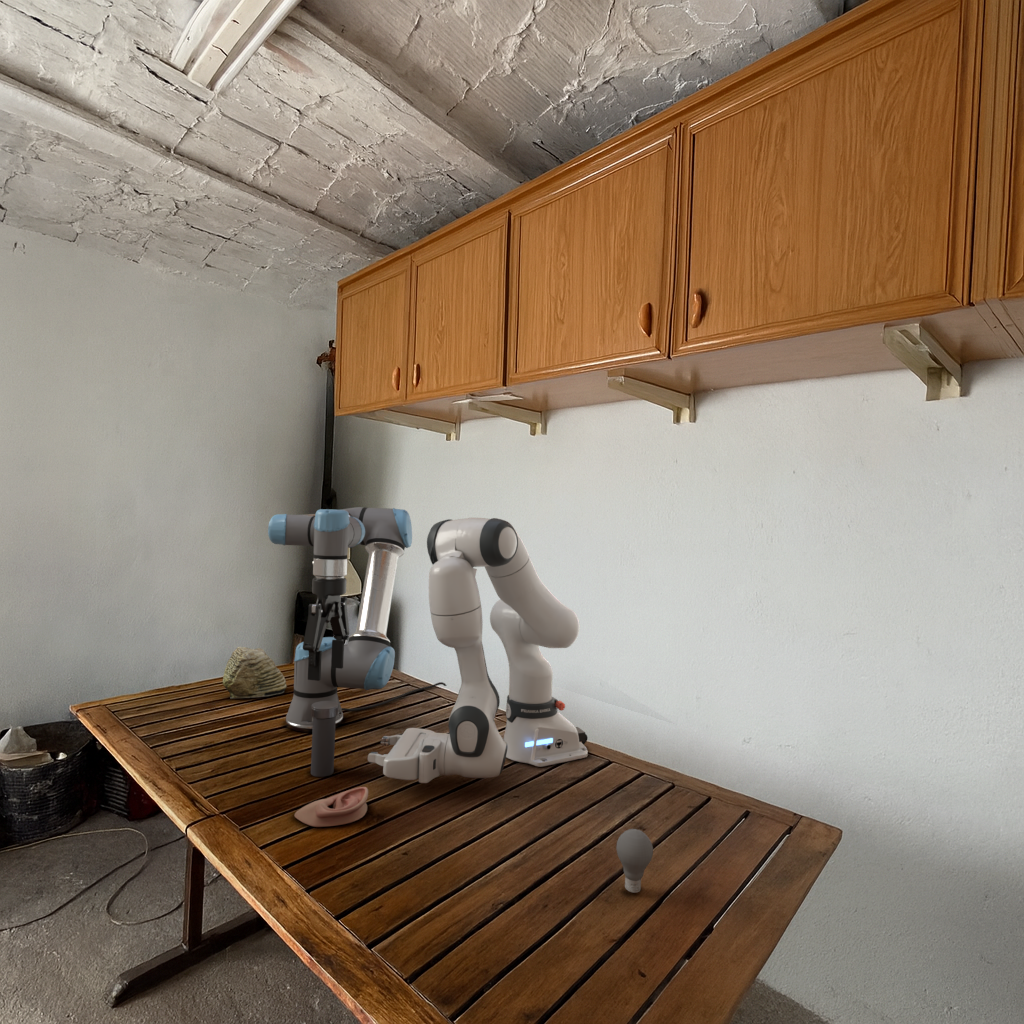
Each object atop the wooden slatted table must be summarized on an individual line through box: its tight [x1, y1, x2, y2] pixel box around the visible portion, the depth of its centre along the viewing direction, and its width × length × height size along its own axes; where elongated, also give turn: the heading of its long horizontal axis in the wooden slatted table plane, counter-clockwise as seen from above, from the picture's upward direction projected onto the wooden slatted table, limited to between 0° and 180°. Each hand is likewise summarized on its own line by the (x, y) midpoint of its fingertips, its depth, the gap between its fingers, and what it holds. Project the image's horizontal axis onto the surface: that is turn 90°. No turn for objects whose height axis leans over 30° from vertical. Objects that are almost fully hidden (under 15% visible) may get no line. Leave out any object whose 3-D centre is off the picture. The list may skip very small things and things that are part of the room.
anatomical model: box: [294, 786, 369, 828], centre depth 127 cm, size 13×4×12 cm
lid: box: [311, 701, 338, 719], centre depth 145 cm, size 6×6×2 cm
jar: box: [310, 716, 336, 778], centre depth 145 cm, size 5×5×15 cm
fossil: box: [222, 646, 288, 699], centre depth 198 cm, size 9×18×15 cm, turn 132°
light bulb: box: [615, 828, 654, 894], centre depth 106 cm, size 6×6×10 cm
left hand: (326, 673), depth 145 cm, fingers open, 10 cm apart
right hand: (375, 748), depth 144 cm, fingers open, 8 cm apart
